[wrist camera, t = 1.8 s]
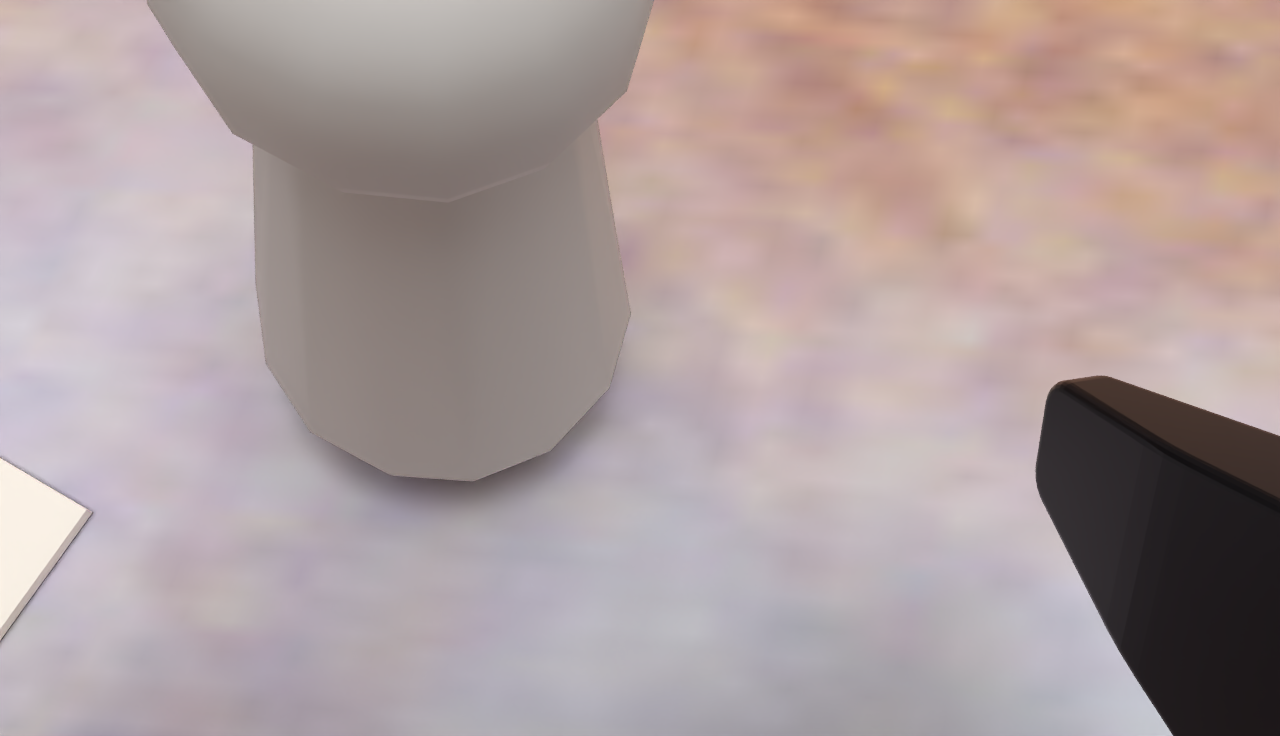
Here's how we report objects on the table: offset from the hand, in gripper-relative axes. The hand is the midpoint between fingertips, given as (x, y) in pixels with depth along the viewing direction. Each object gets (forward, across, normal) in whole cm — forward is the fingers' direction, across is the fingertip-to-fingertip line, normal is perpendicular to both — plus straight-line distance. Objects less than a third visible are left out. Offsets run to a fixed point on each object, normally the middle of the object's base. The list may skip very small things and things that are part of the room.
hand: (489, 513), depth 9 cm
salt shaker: (+12, 0, +5) cm, 13 cm away
